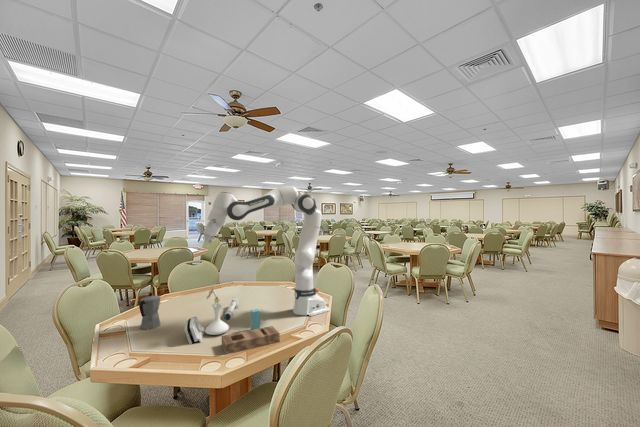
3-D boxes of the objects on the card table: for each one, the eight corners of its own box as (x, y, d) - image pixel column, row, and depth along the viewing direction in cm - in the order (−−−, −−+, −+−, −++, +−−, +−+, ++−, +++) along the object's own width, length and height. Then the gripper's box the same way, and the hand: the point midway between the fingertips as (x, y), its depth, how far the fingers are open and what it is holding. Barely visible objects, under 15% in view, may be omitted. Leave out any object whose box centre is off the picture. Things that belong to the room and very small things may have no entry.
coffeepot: (149, 321, 155) (149, 289, 155) (166, 321, 155) (166, 289, 155) (130, 333, 139) (130, 297, 140) (149, 333, 139) (149, 297, 140)
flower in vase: (210, 328, 145) (210, 280, 146) (232, 328, 145) (232, 280, 145) (199, 338, 132) (199, 286, 133) (222, 338, 132) (222, 286, 132)
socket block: (272, 334, 137) (272, 325, 137) (279, 341, 128) (279, 333, 128) (221, 344, 125) (221, 336, 125) (225, 354, 117) (225, 344, 117)
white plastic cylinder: (222, 313, 156) (231, 295, 181) (222, 324, 157) (231, 305, 182) (231, 313, 157) (239, 295, 182) (232, 324, 158) (239, 304, 182)
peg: (257, 328, 144) (257, 308, 145) (259, 330, 141) (259, 310, 141) (251, 329, 143) (250, 310, 143) (252, 332, 139) (252, 312, 140)
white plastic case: (201, 342, 128) (193, 323, 127) (190, 347, 126) (182, 327, 126) (204, 329, 144) (197, 311, 143) (195, 333, 142) (188, 315, 142)
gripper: (218, 220, 144) (208, 245, 143) (225, 221, 164) (216, 243, 163) (206, 216, 143) (196, 242, 142) (214, 218, 163) (206, 240, 162)
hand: (207, 243), depth 152 cm, fingers open, 8 cm apart
